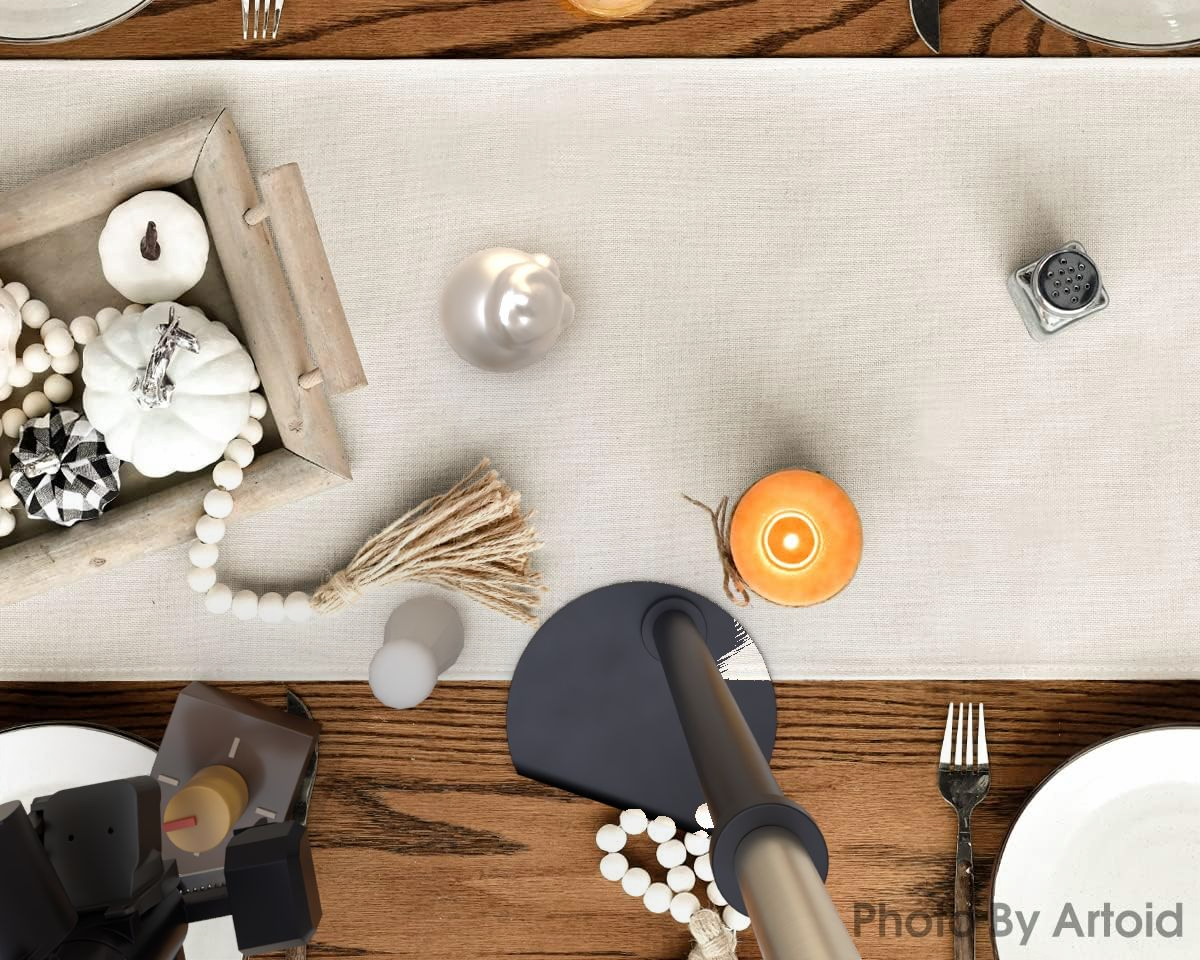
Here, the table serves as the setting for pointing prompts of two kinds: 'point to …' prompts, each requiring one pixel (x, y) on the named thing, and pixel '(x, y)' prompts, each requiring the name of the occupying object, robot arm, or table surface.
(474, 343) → the ghost figurine
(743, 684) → the round base pole stand
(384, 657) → the salt shaker
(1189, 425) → the table surface
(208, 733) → the panel
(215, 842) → the knob
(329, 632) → the table surface
